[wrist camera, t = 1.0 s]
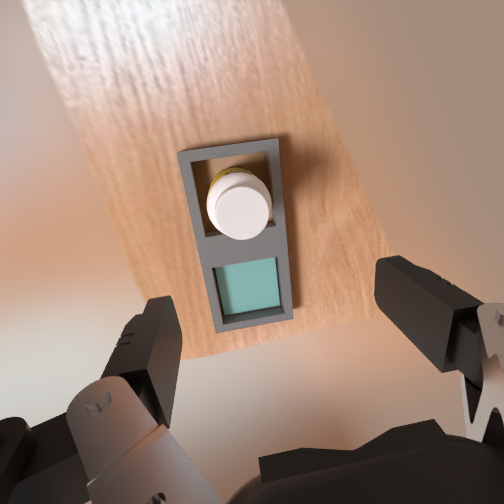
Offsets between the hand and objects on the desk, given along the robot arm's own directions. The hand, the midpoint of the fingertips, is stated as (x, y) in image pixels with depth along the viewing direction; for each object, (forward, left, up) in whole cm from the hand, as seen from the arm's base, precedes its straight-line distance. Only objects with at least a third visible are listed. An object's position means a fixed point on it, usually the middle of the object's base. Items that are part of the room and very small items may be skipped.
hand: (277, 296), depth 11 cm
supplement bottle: (-1, 0, -20) cm, 20 cm away
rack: (+5, 0, -20) cm, 21 cm away
